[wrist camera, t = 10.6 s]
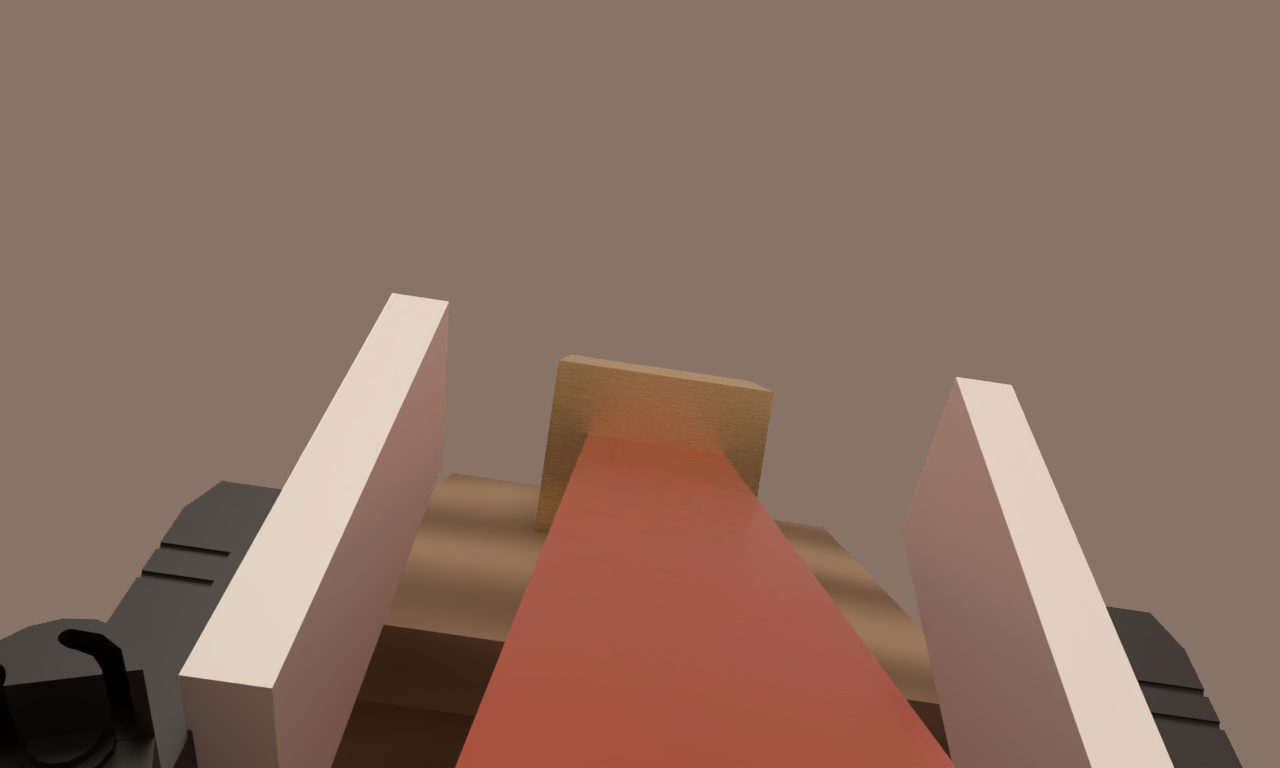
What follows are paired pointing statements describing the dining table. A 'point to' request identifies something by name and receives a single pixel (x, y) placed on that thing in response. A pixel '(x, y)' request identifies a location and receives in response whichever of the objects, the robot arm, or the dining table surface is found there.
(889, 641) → the stand
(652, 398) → the lever
